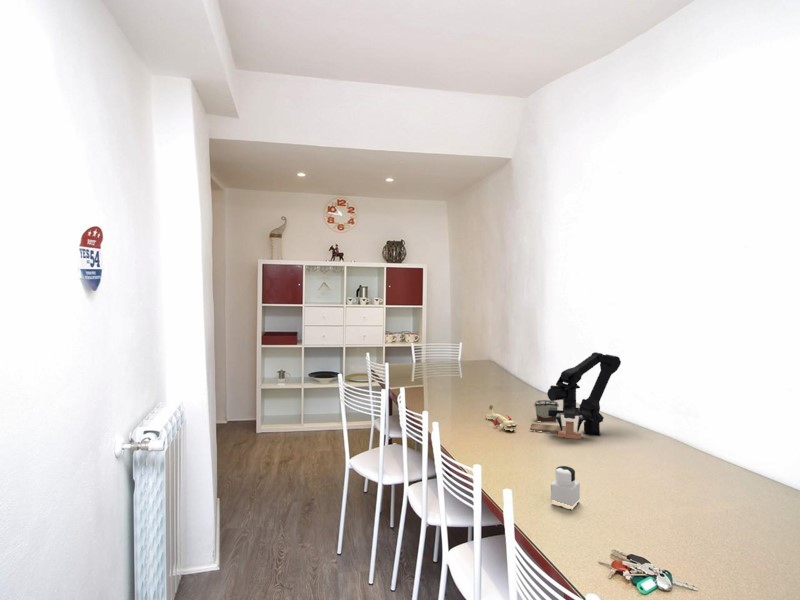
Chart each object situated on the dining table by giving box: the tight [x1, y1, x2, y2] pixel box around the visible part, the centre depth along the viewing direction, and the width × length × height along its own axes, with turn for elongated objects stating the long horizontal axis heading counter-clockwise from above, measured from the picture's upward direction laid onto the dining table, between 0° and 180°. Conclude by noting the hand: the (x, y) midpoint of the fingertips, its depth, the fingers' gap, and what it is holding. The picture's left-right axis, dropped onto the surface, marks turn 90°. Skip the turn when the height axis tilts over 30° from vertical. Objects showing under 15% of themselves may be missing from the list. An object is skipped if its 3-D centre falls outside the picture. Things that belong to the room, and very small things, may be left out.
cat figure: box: [485, 404, 518, 431], centre depth 238 cm, size 10×9×25 cm
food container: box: [533, 399, 560, 423], centre depth 245 cm, size 12×6×10 cm, turn 84°
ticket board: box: [529, 422, 566, 434], centre depth 229 cm, size 17×8×2 cm, turn 70°
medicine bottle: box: [550, 465, 581, 506], centre depth 156 cm, size 7×7×12 cm
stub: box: [557, 420, 582, 440], centre depth 220 cm, size 10×4×6 cm, turn 70°
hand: (569, 431), depth 220 cm, fingers open, 7 cm apart
